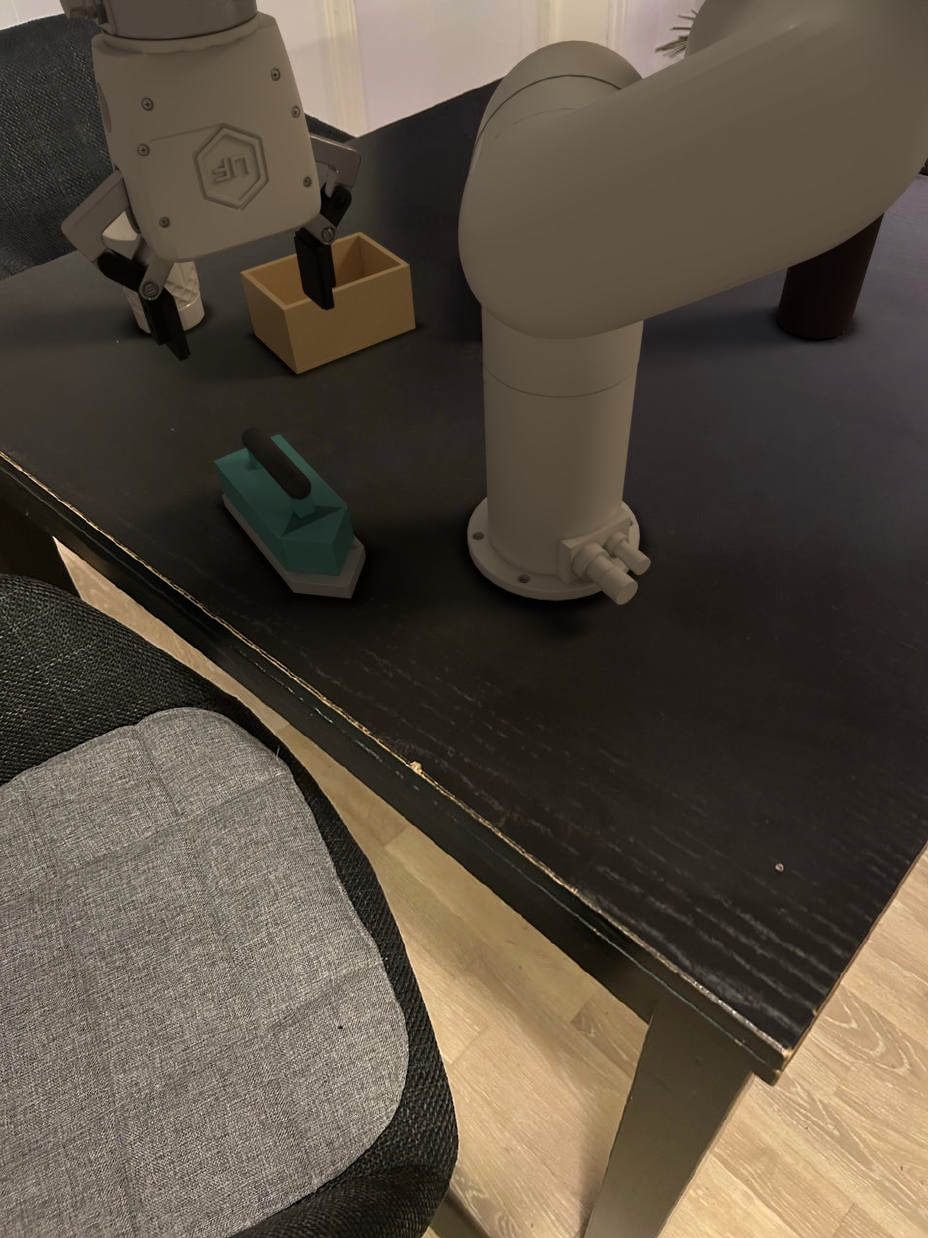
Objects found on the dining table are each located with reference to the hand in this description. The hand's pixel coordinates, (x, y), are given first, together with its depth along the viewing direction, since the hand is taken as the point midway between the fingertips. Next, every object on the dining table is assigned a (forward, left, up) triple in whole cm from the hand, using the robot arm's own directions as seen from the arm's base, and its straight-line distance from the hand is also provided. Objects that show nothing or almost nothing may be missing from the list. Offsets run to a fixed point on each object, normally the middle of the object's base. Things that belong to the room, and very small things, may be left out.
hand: (250, 324), depth 54 cm
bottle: (-4, -54, -17) cm, 56 cm away
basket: (+24, -17, -17) cm, 34 cm away
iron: (-1, 0, -17) cm, 17 cm away
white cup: (+37, -5, -17) cm, 42 cm away
